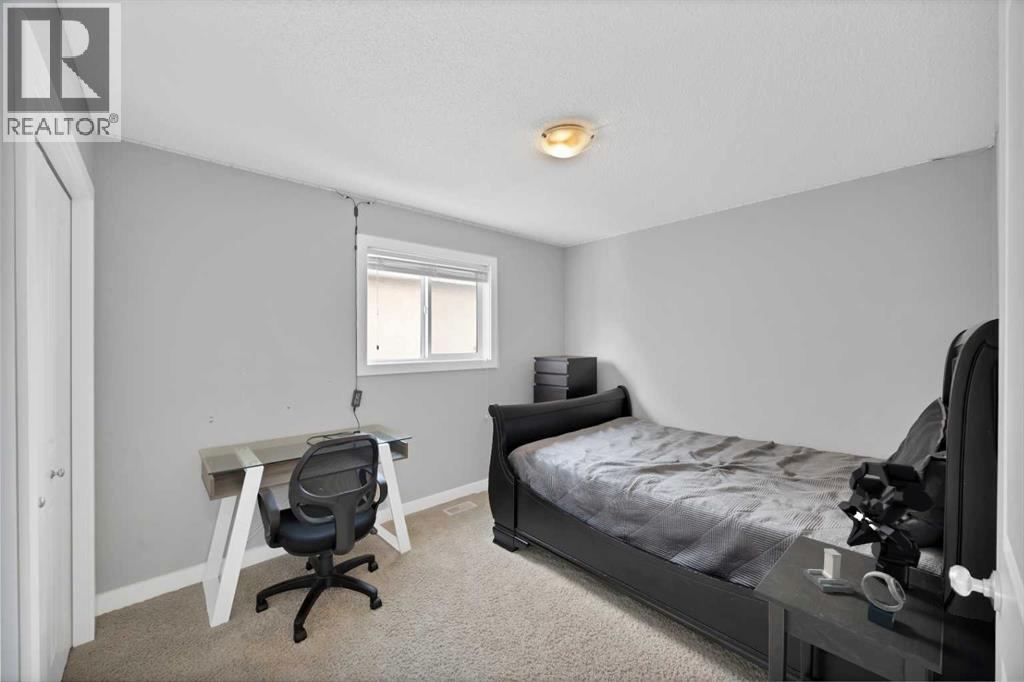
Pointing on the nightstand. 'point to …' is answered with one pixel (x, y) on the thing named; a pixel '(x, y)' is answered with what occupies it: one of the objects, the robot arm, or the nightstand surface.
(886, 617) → the watch
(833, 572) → the handle
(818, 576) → the breaker panel
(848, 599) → the nightstand surface
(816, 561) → the nightstand surface
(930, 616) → the nightstand surface
